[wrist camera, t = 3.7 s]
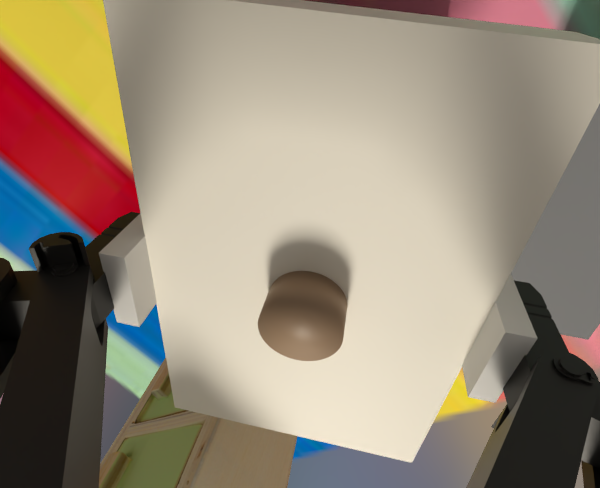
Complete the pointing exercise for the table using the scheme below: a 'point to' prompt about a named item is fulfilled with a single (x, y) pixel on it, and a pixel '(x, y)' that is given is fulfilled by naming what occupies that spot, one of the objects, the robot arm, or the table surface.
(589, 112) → the lid
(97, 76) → the table surface
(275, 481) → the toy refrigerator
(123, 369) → the table surface
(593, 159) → the block
